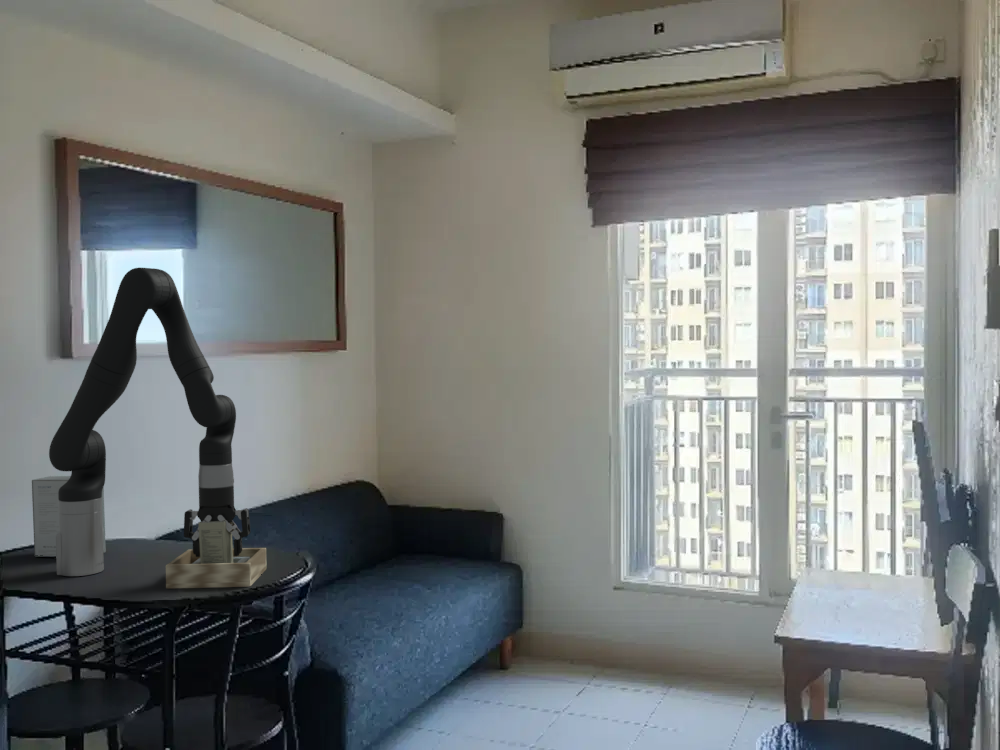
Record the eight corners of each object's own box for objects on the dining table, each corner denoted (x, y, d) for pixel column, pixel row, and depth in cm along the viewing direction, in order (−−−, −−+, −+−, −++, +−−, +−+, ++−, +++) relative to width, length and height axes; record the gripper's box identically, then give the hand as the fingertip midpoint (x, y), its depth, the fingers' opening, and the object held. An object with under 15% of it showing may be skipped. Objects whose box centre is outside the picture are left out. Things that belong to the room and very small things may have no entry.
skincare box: (234, 571, 208) (233, 518, 207) (227, 576, 203) (225, 521, 203) (206, 571, 208) (205, 518, 208) (199, 576, 204) (197, 521, 203)
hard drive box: (107, 552, 235) (105, 475, 234) (89, 559, 227) (87, 479, 227) (52, 551, 237) (49, 475, 237) (32, 558, 230) (30, 479, 229)
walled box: (166, 588, 197) (165, 565, 197) (189, 570, 213) (188, 549, 213) (250, 586, 198) (249, 563, 198) (266, 569, 214) (266, 547, 214)
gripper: (178, 487, 201) (180, 560, 202) (244, 485, 202) (245, 558, 202) (189, 482, 209) (191, 552, 209) (252, 481, 209) (253, 551, 209)
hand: (217, 555), depth 205 cm, fingers open, 8 cm apart
